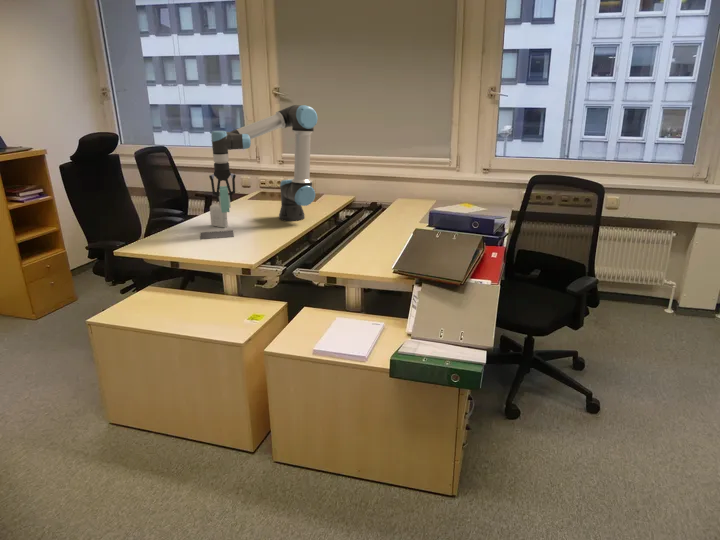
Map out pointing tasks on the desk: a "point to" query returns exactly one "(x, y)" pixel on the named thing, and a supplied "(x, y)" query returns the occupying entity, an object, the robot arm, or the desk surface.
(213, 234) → the mat
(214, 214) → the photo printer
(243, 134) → the robot arm
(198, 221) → the desk surface
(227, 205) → the block
